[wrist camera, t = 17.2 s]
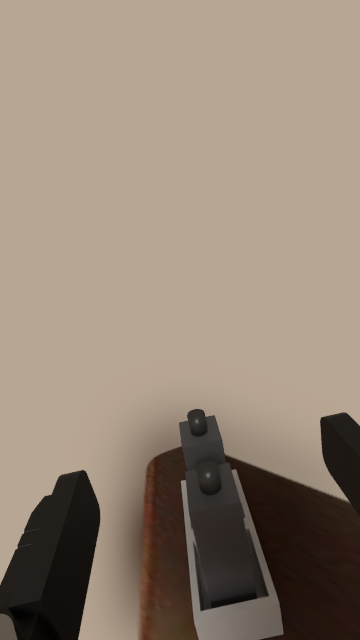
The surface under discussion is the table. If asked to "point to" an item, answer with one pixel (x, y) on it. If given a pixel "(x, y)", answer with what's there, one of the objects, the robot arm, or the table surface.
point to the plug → (220, 533)
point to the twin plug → (201, 439)
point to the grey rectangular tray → (241, 618)
